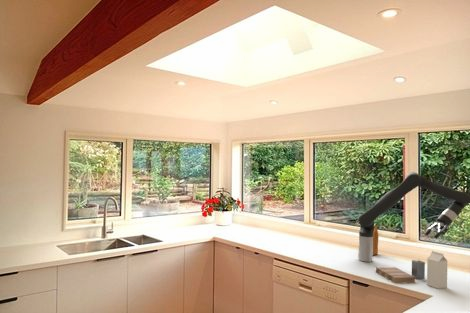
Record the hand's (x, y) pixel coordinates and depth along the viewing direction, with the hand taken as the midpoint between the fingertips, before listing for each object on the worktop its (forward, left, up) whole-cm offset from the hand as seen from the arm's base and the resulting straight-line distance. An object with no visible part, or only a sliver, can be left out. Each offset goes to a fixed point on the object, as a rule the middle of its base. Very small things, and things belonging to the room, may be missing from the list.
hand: (430, 236), depth 222 cm
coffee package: (-53, -12, -24) cm, 59 cm away
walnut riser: (+3, -26, -24) cm, 35 cm away
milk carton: (+20, -11, -24) cm, 33 cm away
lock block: (+5, -12, -24) cm, 27 cm away
